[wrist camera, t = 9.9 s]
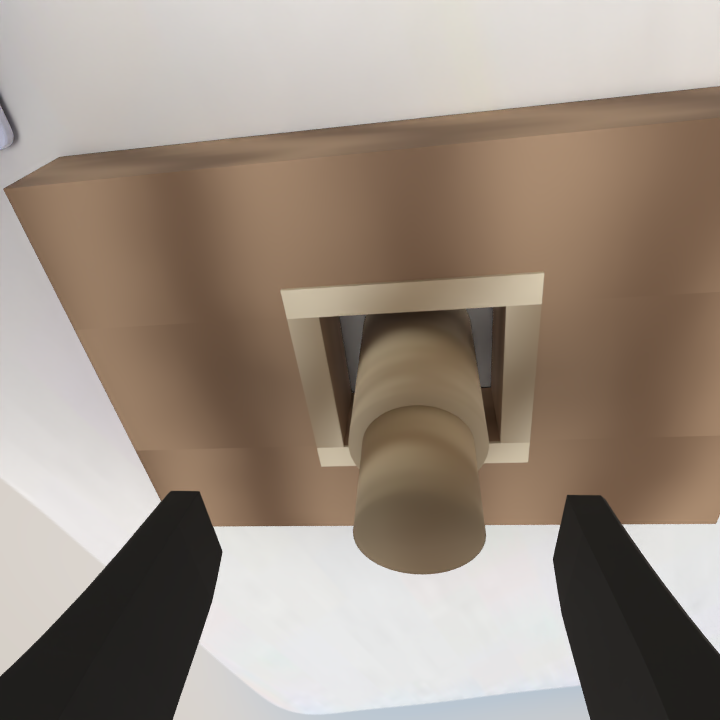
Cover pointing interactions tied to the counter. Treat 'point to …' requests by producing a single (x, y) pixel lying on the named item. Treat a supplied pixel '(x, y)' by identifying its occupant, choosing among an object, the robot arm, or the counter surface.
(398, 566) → the beech peg
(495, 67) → the counter surface
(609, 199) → the socket board
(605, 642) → the robot arm
